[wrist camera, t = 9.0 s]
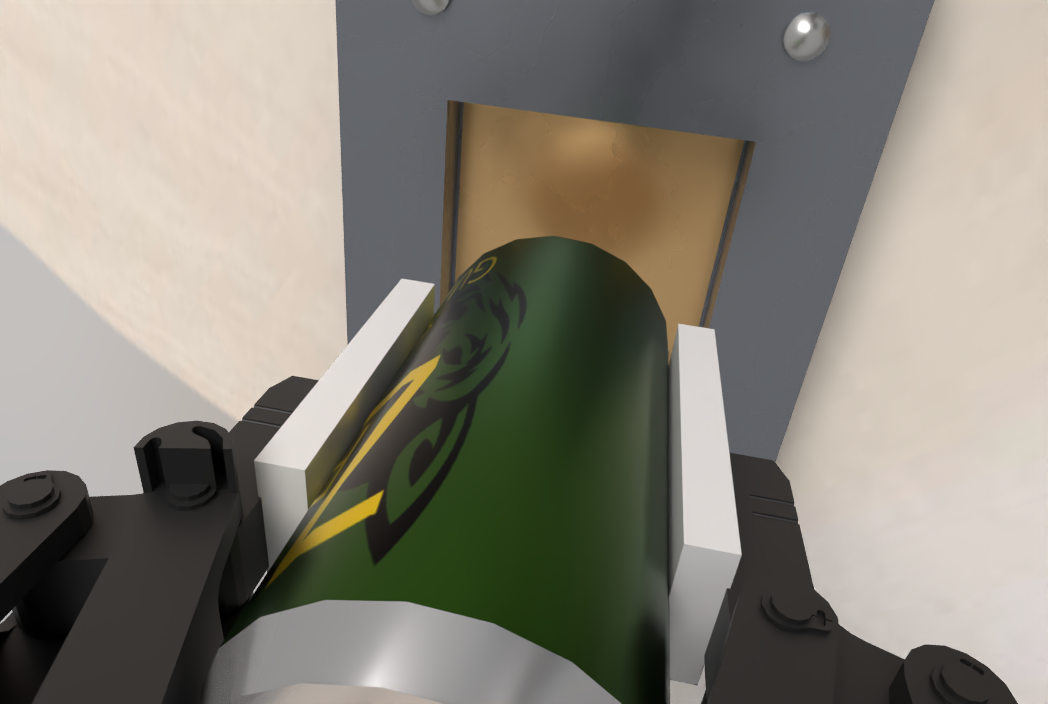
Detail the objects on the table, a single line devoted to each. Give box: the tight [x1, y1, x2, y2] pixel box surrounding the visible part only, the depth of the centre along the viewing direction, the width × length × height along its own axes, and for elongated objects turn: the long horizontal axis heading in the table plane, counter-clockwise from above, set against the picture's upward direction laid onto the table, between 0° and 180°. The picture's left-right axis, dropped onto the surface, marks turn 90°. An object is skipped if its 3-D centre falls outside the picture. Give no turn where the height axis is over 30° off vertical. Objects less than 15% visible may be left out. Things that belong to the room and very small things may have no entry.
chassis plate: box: [336, 0, 934, 462], centre depth 21 cm, size 18×14×2 cm
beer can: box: [200, 236, 670, 704], centre depth 12 cm, size 5×5×12 cm
